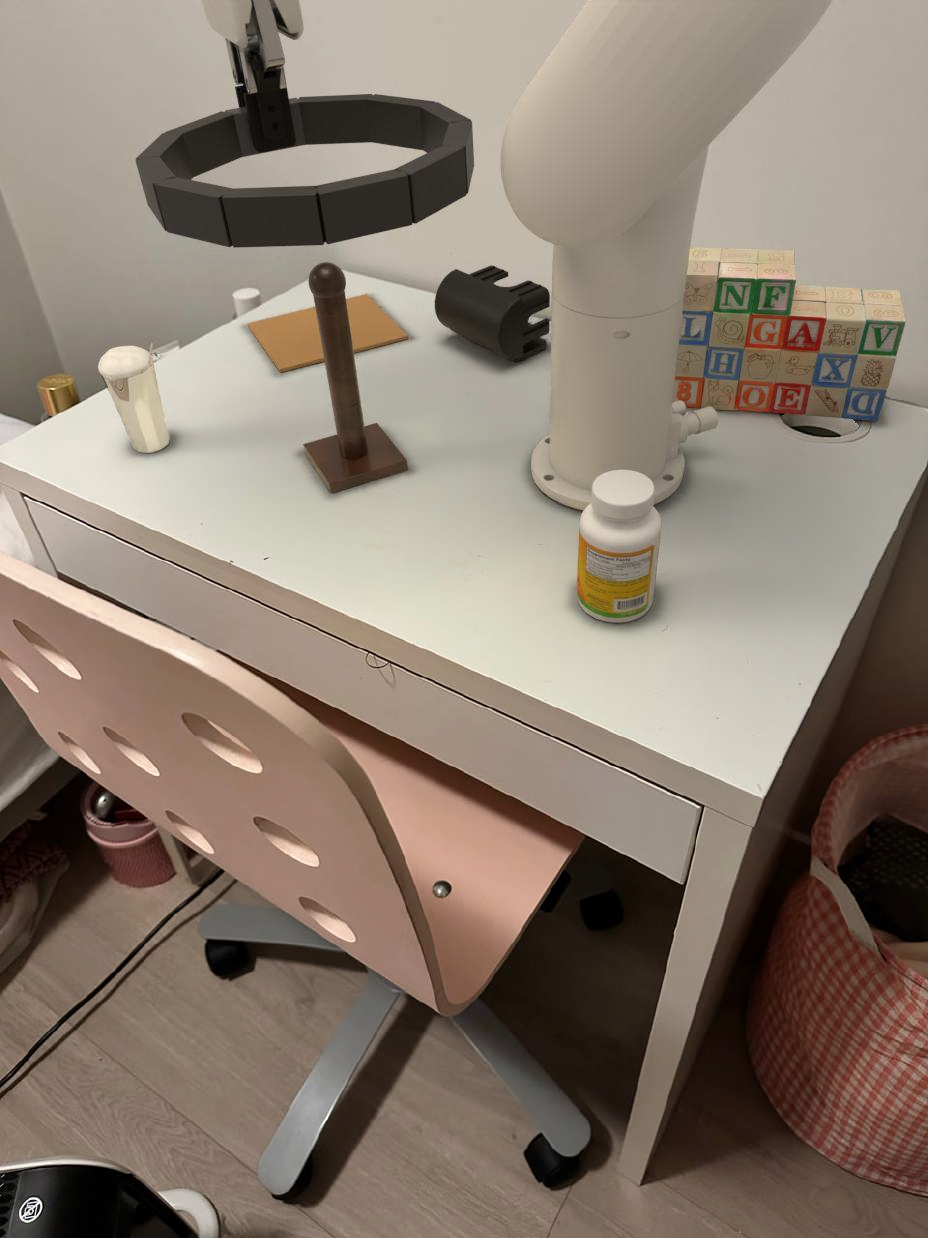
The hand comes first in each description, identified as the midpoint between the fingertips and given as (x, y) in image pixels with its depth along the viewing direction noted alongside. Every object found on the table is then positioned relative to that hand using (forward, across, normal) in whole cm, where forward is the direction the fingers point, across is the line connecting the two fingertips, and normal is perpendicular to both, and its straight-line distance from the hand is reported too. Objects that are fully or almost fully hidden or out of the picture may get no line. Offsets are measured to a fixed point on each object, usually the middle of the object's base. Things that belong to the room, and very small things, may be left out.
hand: (271, 142), depth 72 cm
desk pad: (+23, +15, -6) cm, 28 cm away
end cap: (+24, +3, -20) cm, 31 cm away
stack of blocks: (+24, -18, -36) cm, 47 cm away
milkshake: (+23, +2, +15) cm, 28 cm away
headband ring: (0, -10, 0) cm, 10 cm away
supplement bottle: (+24, -36, -10) cm, 44 cm away
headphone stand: (+23, -10, 0) cm, 25 cm away
